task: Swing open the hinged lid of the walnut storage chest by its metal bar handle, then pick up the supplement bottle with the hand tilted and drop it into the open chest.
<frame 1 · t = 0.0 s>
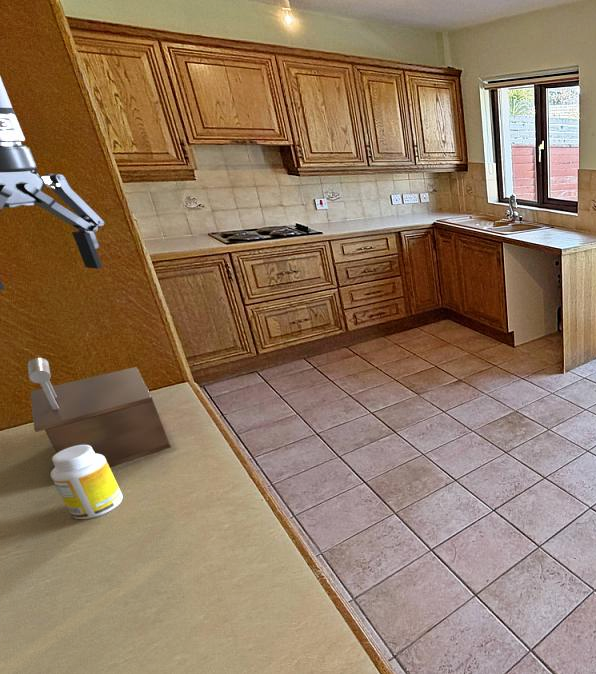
hand: (48, 277, 80), 29 cm above the counter, tool pointing down, fingers open, 13 cm apart
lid: (83, 377, 80), point 14 cm above the counter, hinge at 0.0°
supplement bottle: (99, 508, 72), on the counter
chest: (116, 443, 85), on the counter
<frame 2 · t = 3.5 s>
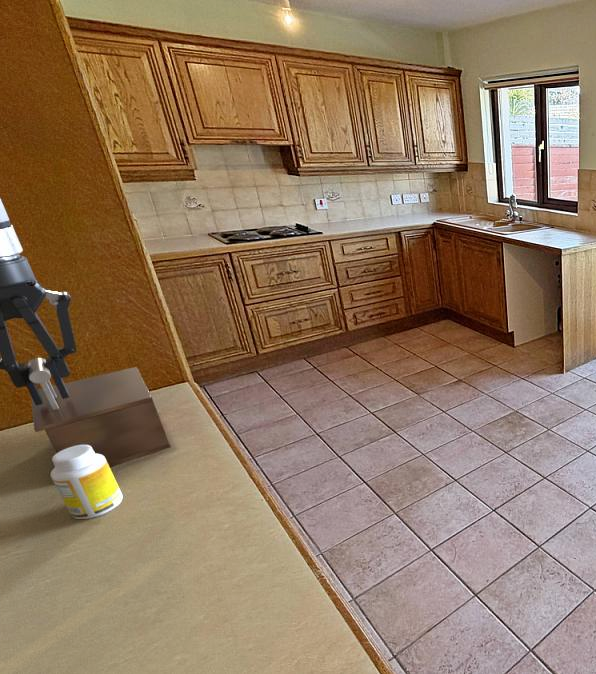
hand: (52, 398, 78), 11 cm above the counter, tool pointing down, fingers closed on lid, 2 cm apart
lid: (83, 377, 80), point 14 cm above the counter, hinge at 0.0°, touching gripper
everything else where it was.
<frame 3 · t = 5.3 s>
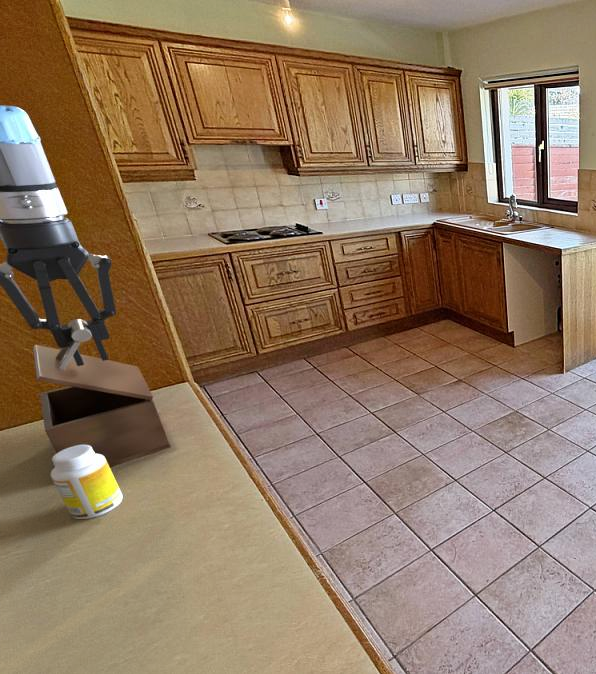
hand: (92, 360, 80), 17 cm above the counter, tool pointing down, fingers closed on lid, 2 cm apart
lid: (105, 353, 81), point 17 cm above the counter, hinge at 36.5°, touching gripper
everything else where it was.
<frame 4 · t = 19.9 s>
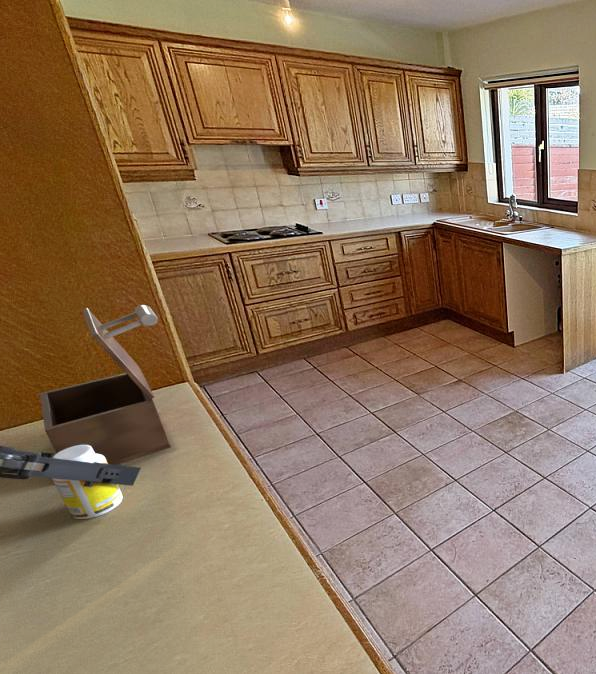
hand: (115, 474, 74), 3 cm above the counter, tool tilted 45°, fingers closed on supplement bottle, 6 cm apart
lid: (143, 342, 84), point 18 cm above the counter, hinge at 74.7°
supplement bottle: (99, 508, 72), on the counter, touching gripper
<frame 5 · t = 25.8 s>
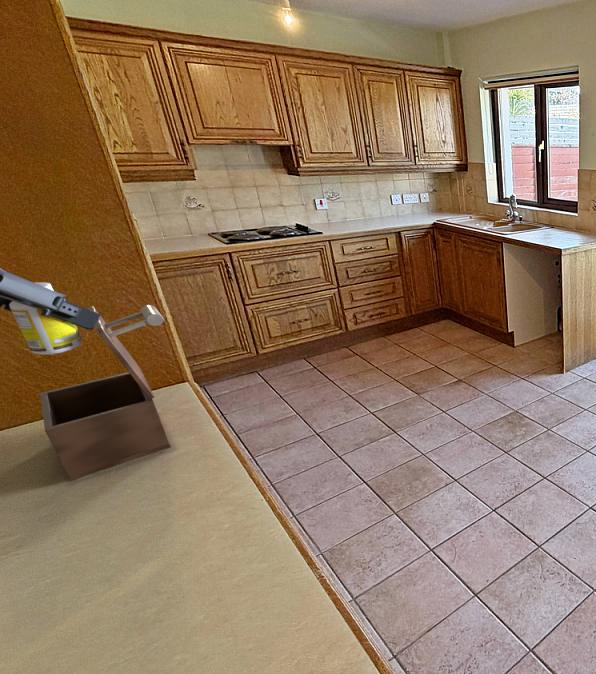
hand: (76, 320, 76), 24 cm above the counter, tool tilted 45°, fingers closed on supplement bottle, 6 cm apart
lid: (146, 342, 84), point 18 cm above the counter, hinge at 78.0°, touching gripper
supplement bottle: (58, 349, 74), point 21 cm above the counter, touching gripper
when the fingers open (11 cm above the counter, at t = 29.6 s): supplement bottle drops 7 cm, resting on chest.
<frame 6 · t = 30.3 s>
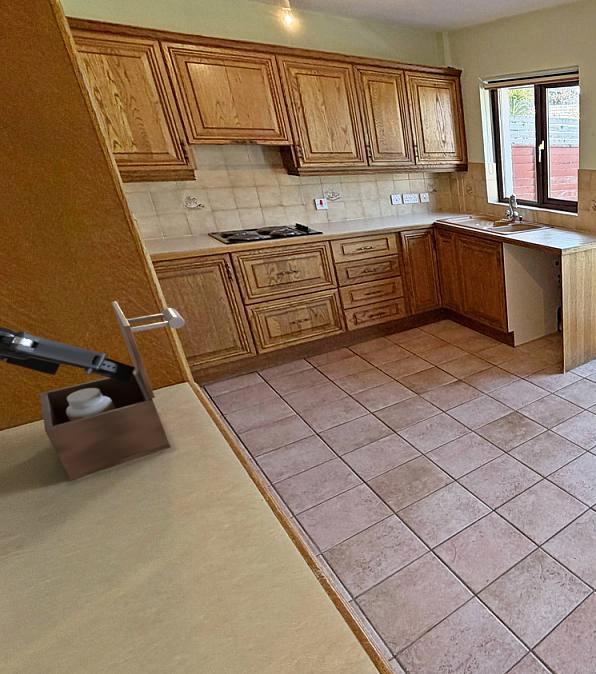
hand: (93, 371, 81), 14 cm above the counter, tool tilted 45°, fingers open, 13 cm apart
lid: (159, 343, 86), point 17 cm above the counter, hinge at 91.0°
supplement bottle: (107, 442, 84), point 1 cm above the counter, touching chest
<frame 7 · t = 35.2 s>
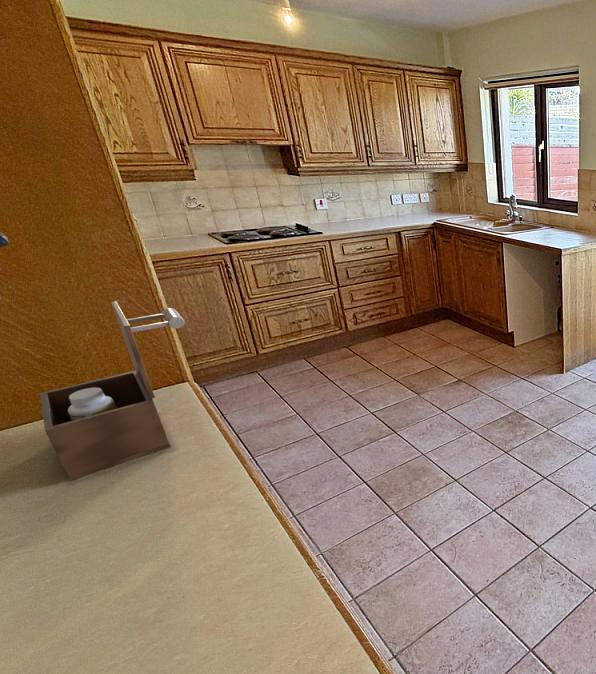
nothing on the counter moved.
at the end: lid at +91° (first picture: +0°); supplement bottle inside the target area in the chest (1.0 cm from its centre), point 0.6 cm above the chest's base; the gripper is holding nothing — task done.
